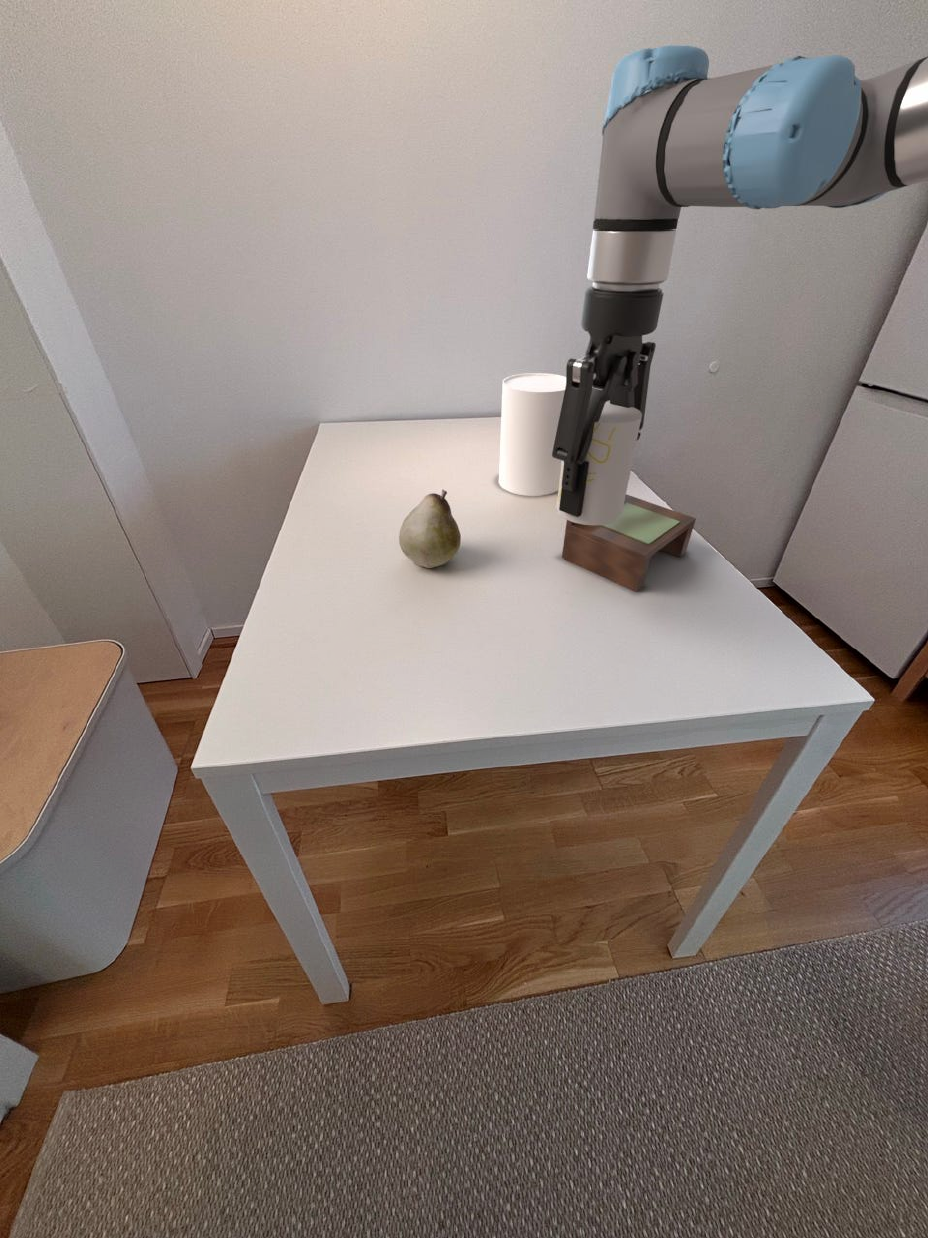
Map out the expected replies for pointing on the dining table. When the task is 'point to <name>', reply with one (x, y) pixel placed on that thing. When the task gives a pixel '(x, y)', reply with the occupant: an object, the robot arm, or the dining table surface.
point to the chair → (628, 541)
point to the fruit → (430, 532)
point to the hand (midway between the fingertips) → (590, 500)
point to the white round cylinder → (607, 466)
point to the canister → (530, 433)
